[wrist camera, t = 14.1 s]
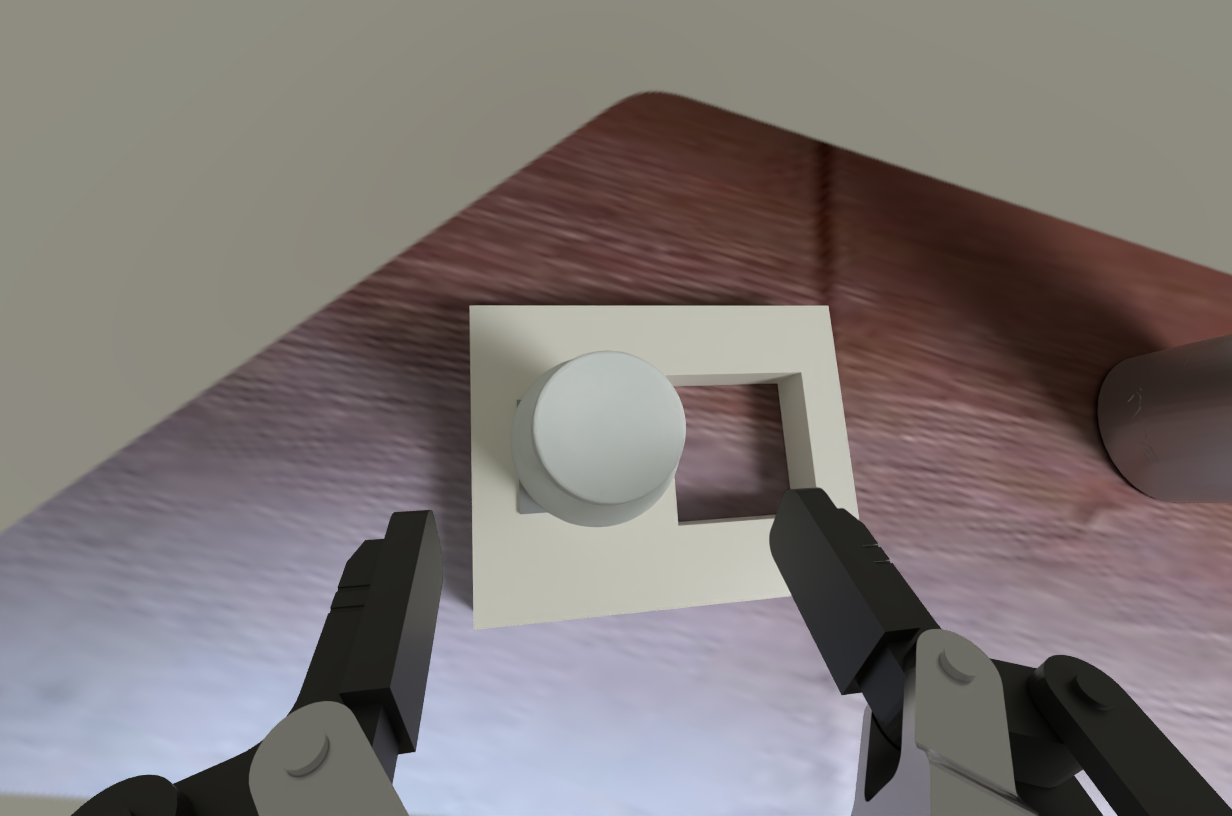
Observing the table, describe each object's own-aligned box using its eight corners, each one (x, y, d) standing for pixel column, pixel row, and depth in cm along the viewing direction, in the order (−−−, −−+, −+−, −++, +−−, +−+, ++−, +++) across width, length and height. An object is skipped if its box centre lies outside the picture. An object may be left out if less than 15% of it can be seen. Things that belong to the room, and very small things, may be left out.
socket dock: (802, 322, 28) (830, 304, 25) (837, 578, 25) (871, 588, 23) (476, 324, 25) (469, 303, 22) (480, 615, 22) (473, 631, 20)
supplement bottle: (623, 531, 21) (690, 558, 12) (502, 503, 21) (474, 508, 11) (649, 414, 22) (729, 356, 13) (536, 384, 22) (535, 300, 13)
